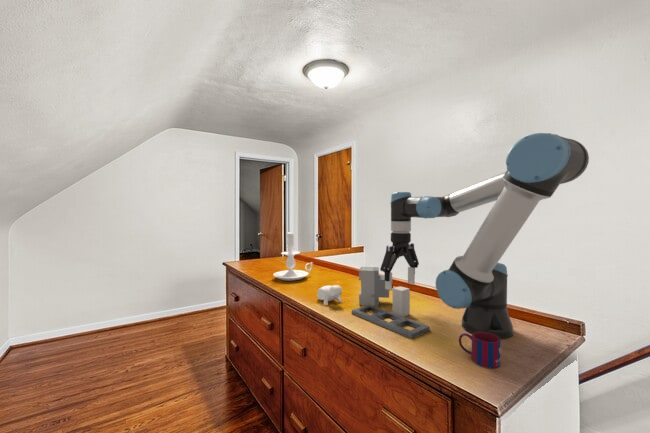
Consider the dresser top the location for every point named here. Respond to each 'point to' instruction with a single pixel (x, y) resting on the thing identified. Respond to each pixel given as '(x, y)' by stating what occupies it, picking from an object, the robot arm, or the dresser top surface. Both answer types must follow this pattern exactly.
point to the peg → (401, 301)
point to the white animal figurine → (329, 293)
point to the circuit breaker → (371, 286)
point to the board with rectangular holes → (393, 325)
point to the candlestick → (291, 263)
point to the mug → (484, 349)
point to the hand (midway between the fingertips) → (400, 286)
